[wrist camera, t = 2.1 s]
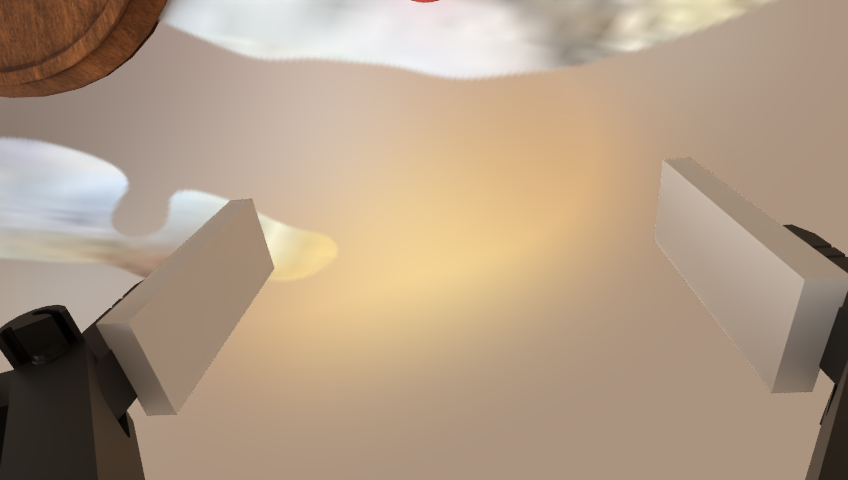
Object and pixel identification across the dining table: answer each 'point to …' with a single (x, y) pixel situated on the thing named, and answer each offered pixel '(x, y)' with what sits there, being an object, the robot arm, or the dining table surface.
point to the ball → (424, 0)
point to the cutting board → (69, 42)
